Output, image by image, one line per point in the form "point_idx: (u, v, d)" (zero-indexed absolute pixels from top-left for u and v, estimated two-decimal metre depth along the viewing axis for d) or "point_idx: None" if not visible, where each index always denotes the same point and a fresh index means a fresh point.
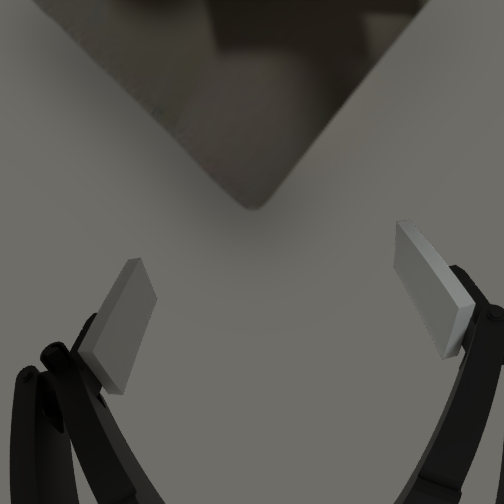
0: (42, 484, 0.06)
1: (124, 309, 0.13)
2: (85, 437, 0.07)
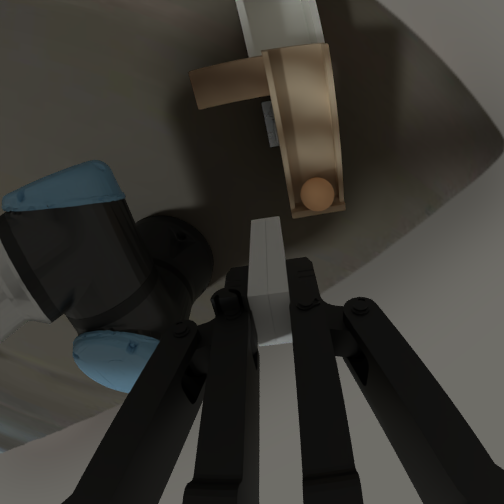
0: (138, 459, 0.07)
1: None
2: (221, 399, 0.08)
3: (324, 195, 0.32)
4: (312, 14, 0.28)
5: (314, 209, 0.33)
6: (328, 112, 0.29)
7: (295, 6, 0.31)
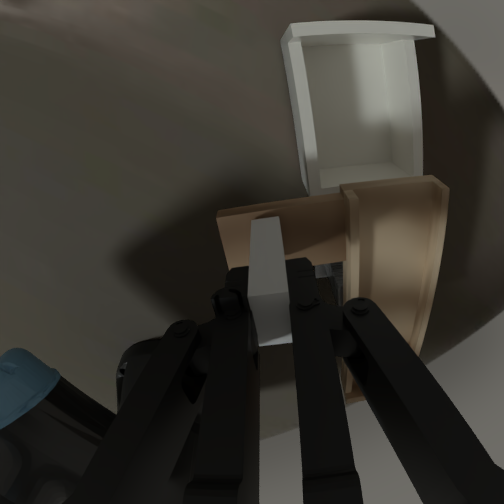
0: (138, 459, 0.07)
1: None
2: (221, 399, 0.08)
3: None
4: (412, 103, 0.18)
5: None
6: (420, 281, 0.20)
7: (374, 73, 0.21)
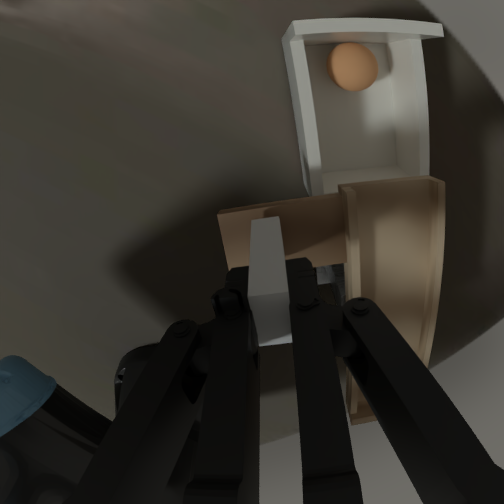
0: (138, 459, 0.07)
1: None
2: (221, 399, 0.08)
3: None
4: (419, 105, 0.17)
5: (347, 55, 0.17)
6: (424, 287, 0.19)
7: (379, 73, 0.20)
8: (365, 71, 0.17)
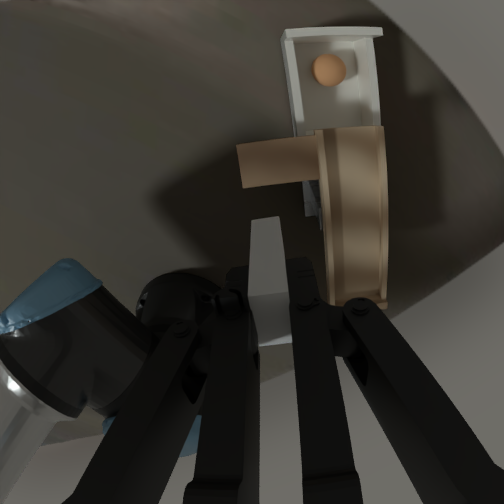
0: (138, 460, 0.07)
1: None
2: (221, 399, 0.08)
3: (334, 59, 0.27)
4: (371, 81, 0.27)
5: (326, 74, 0.28)
6: (377, 202, 0.29)
7: (348, 62, 0.29)
8: (335, 83, 0.28)
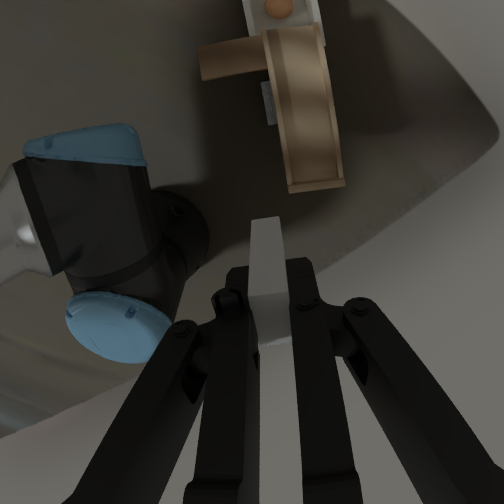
0: (138, 459, 0.07)
1: None
2: (221, 399, 0.08)
3: (283, 3, 0.29)
4: None
5: (276, 15, 0.31)
6: (322, 86, 0.30)
7: None
8: None
